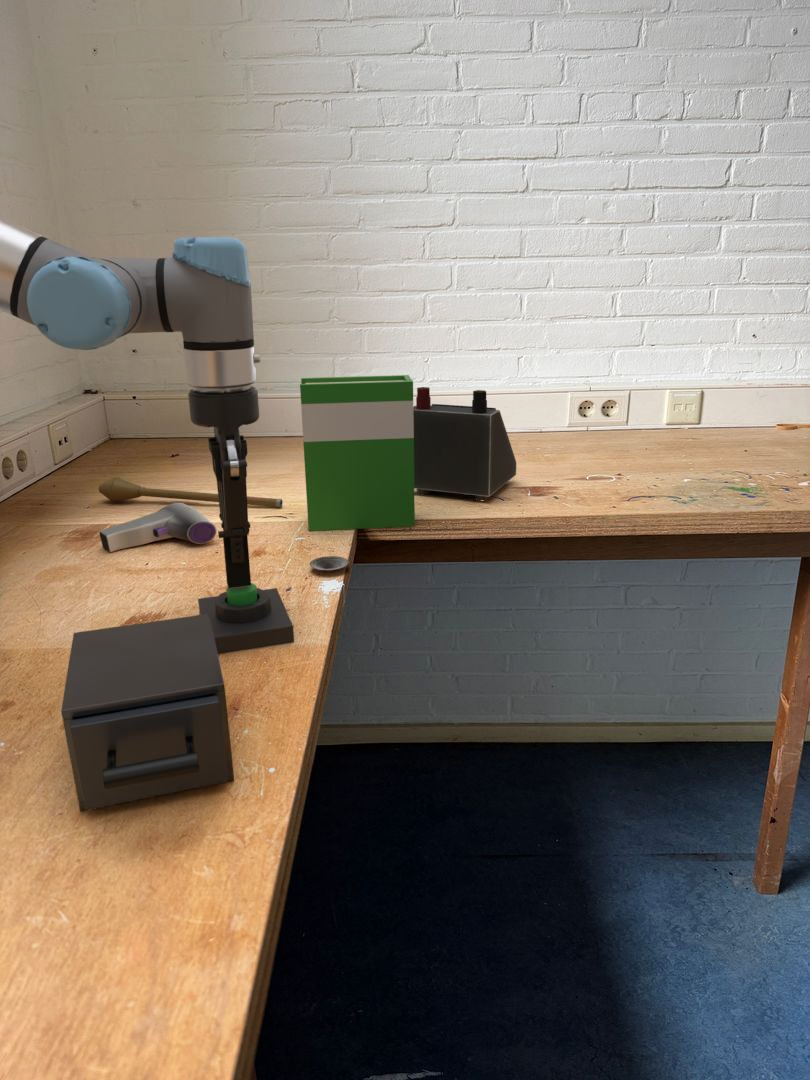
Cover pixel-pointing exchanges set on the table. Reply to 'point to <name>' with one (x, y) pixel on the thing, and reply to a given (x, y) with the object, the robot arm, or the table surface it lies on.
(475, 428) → the voltmeter
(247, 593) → the button
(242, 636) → the control block
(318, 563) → the small grey dish
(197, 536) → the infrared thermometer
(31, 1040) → the table surface
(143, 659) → the cabinet
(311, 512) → the green cereal box
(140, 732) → the drawer
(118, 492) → the panzerfaust
